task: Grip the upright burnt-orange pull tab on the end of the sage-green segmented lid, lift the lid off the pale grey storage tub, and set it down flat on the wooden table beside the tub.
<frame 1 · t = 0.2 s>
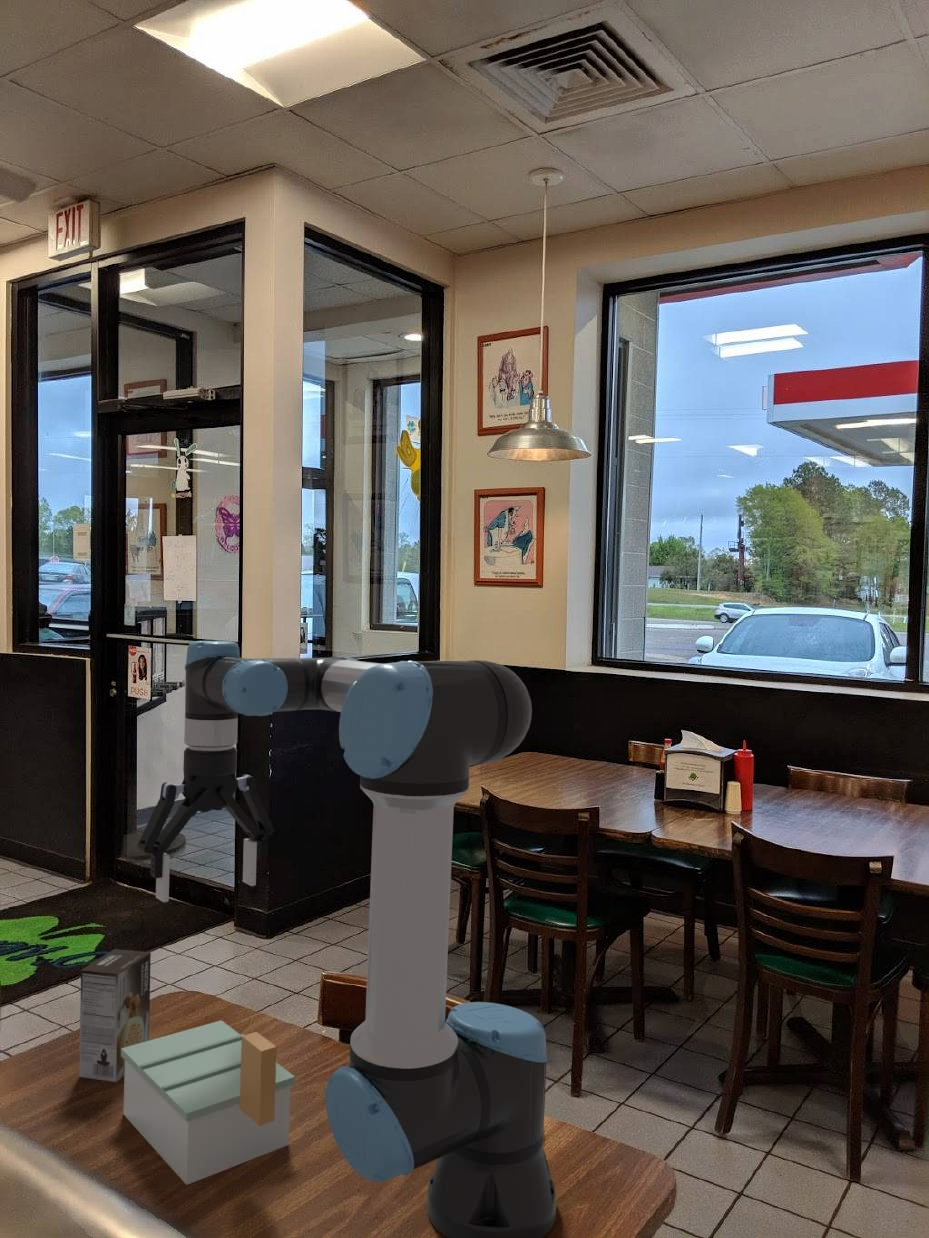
hand: (207, 891, 140), 28 cm above the table, fingers open, 13 cm apart
lid: (205, 1069, 127), point 8 cm above the table, touching tub
tub: (204, 1129, 127), on the table
coffee box: (114, 1067, 143), on the table
smartphone: (212, 1060, 147), on the table
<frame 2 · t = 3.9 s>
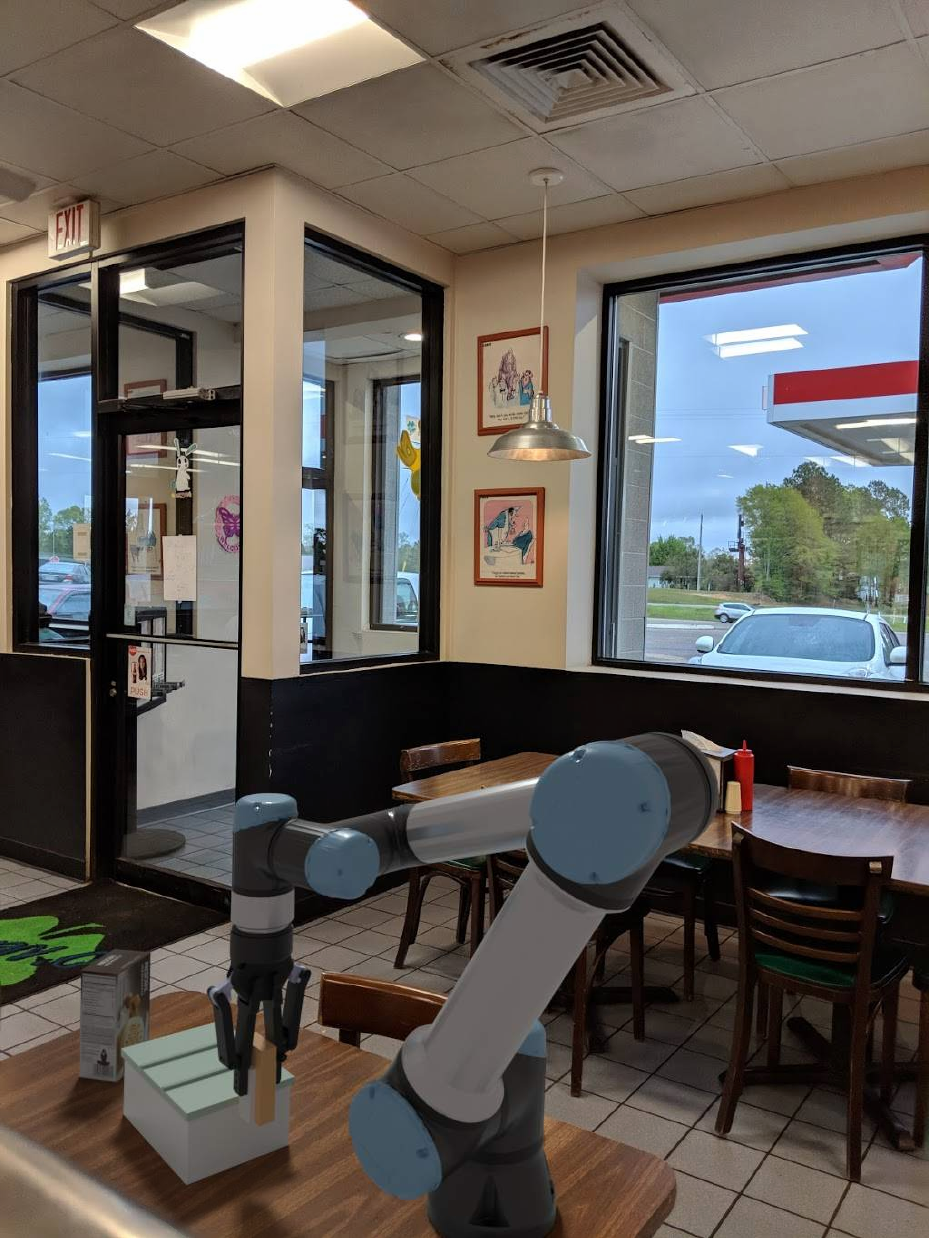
hand: (256, 1114, 116), 8 cm above the table, fingers closed on lid, 2 cm apart
lid: (205, 1069, 127), point 8 cm above the table, touching gripper, tub
everything else where it was.
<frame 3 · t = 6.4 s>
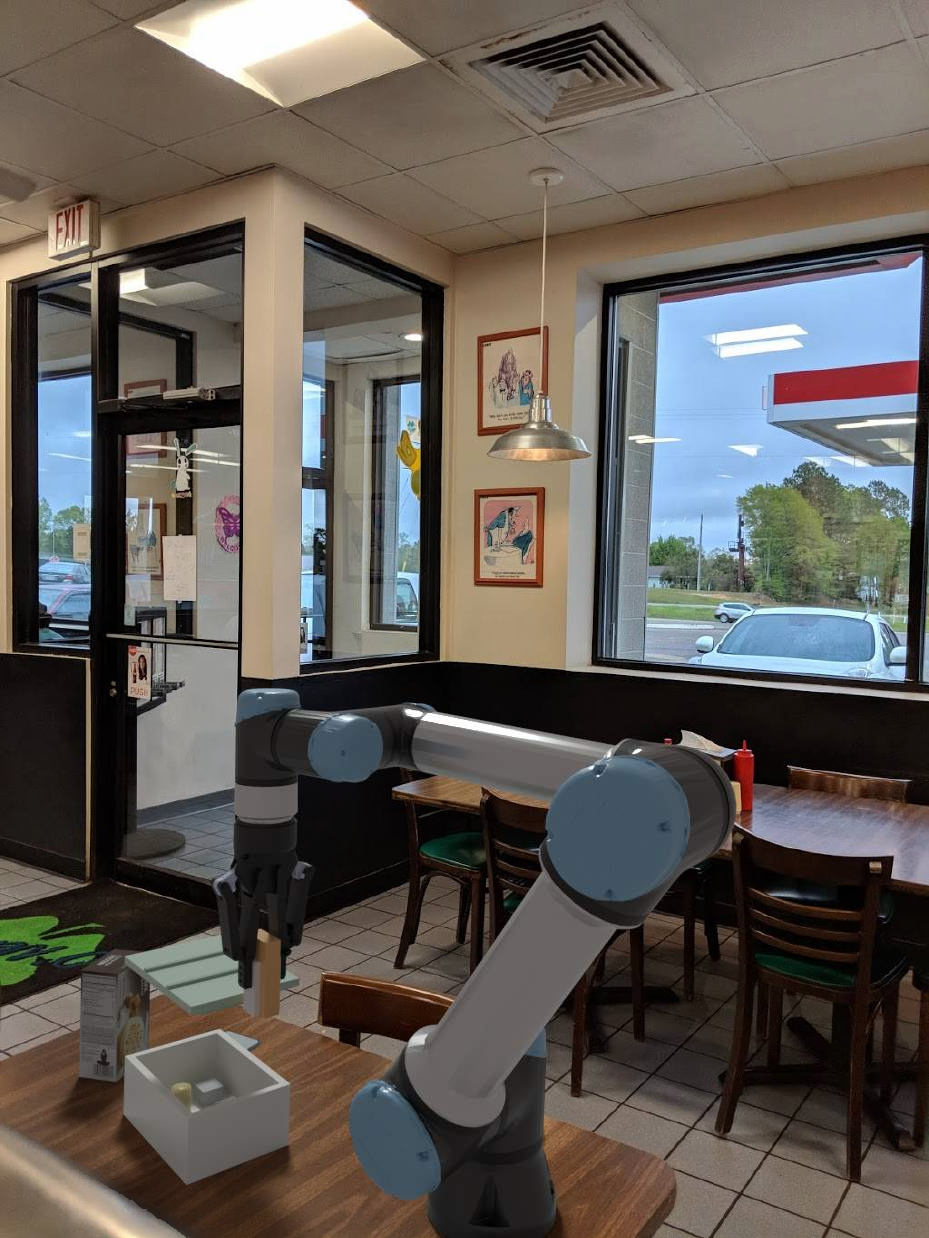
hand: (261, 1009, 116), 21 cm above the table, fingers closed on lid, 2 cm apart
lid: (209, 974, 127), point 21 cm above the table, touching gripper
everything else where it was.
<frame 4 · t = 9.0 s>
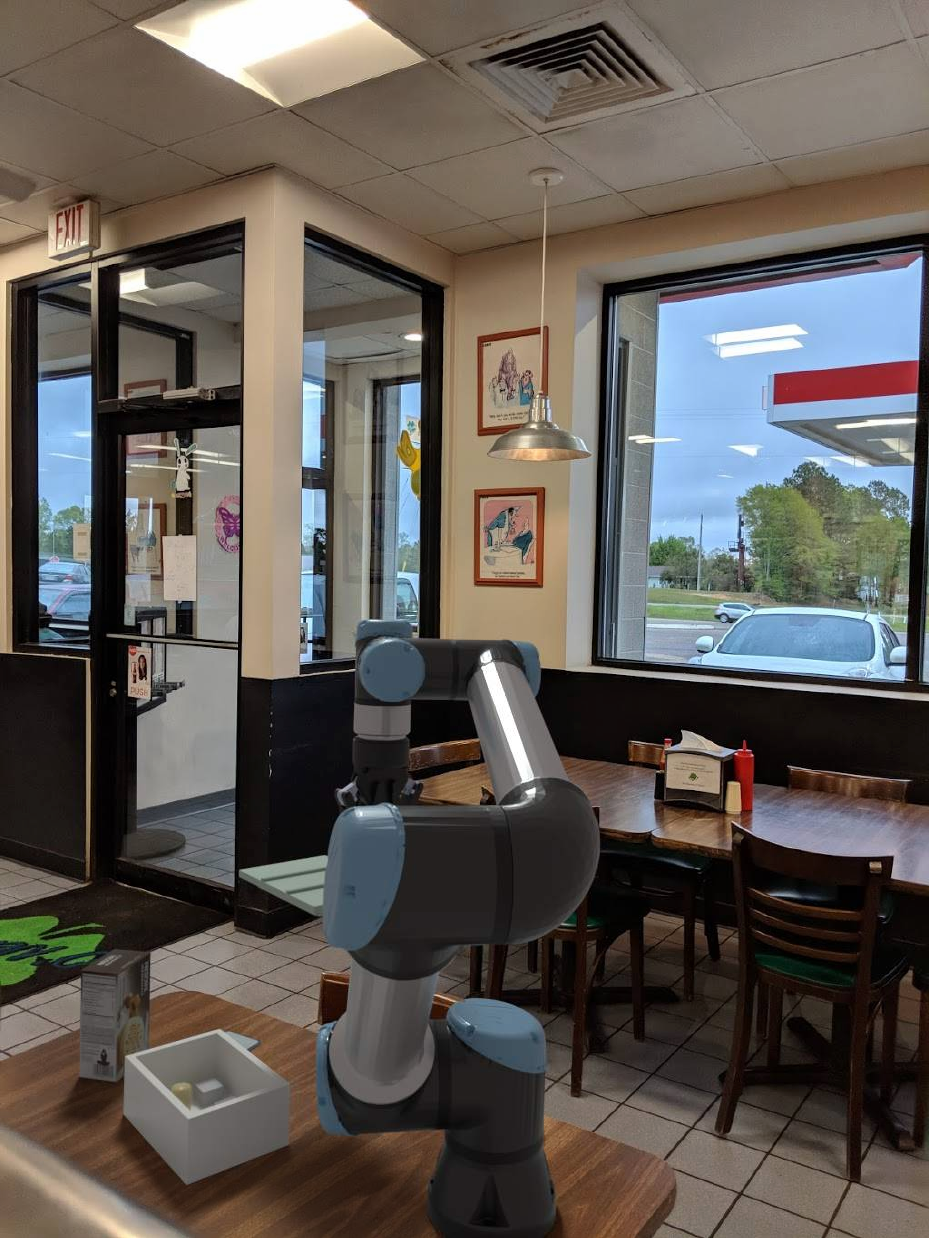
hand: (376, 911, 127), 30 cm above the table, fingers closed on lid, 2 cm apart
lid: (319, 885, 138), point 30 cm above the table, touching gripper
everything else where it was.
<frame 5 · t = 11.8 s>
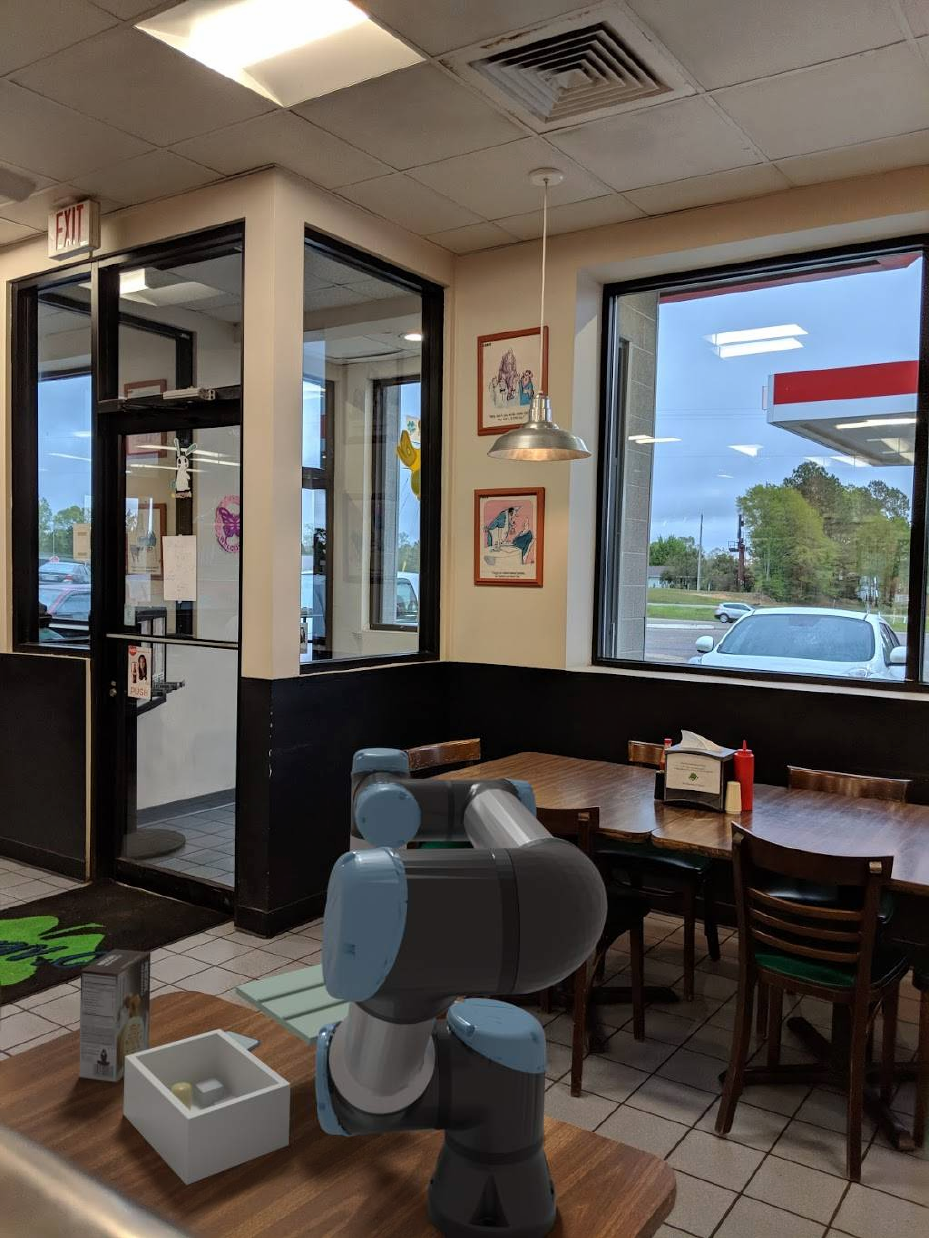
hand: (372, 1040, 127), 12 cm above the table, fingers closed on lid, 2 cm apart
lid: (316, 1004, 138), point 12 cm above the table, touching gripper
everything else where it was.
when the fingers open (3 cm above the table, at t = 14.3 s): lid drops 2 cm, point 1 cm above the table.
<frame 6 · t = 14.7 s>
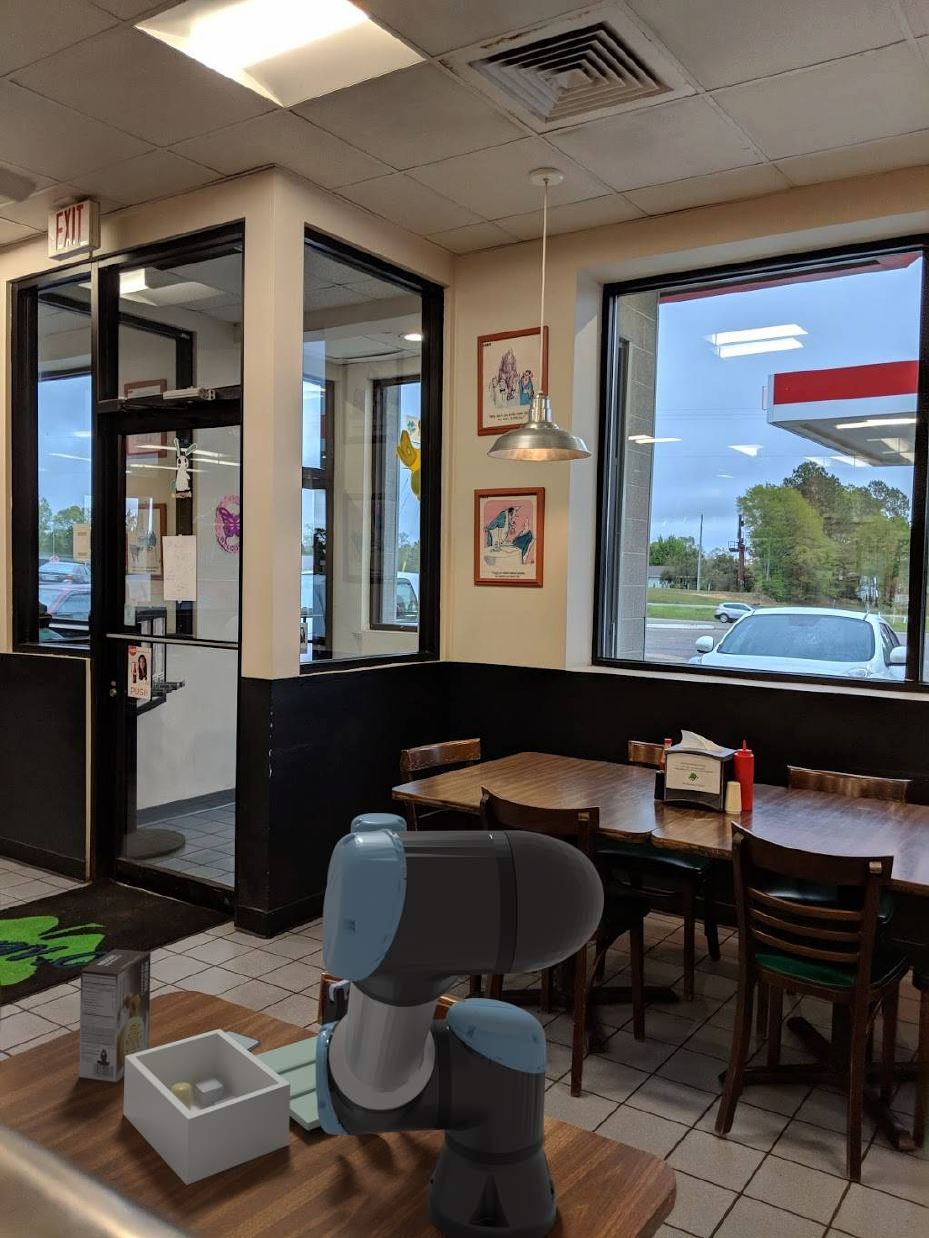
hand: (370, 1099, 128), 4 cm above the table, fingers open, 9 cm apart
lid: (314, 1081, 138), point 1 cm above the table
everything else where it was.
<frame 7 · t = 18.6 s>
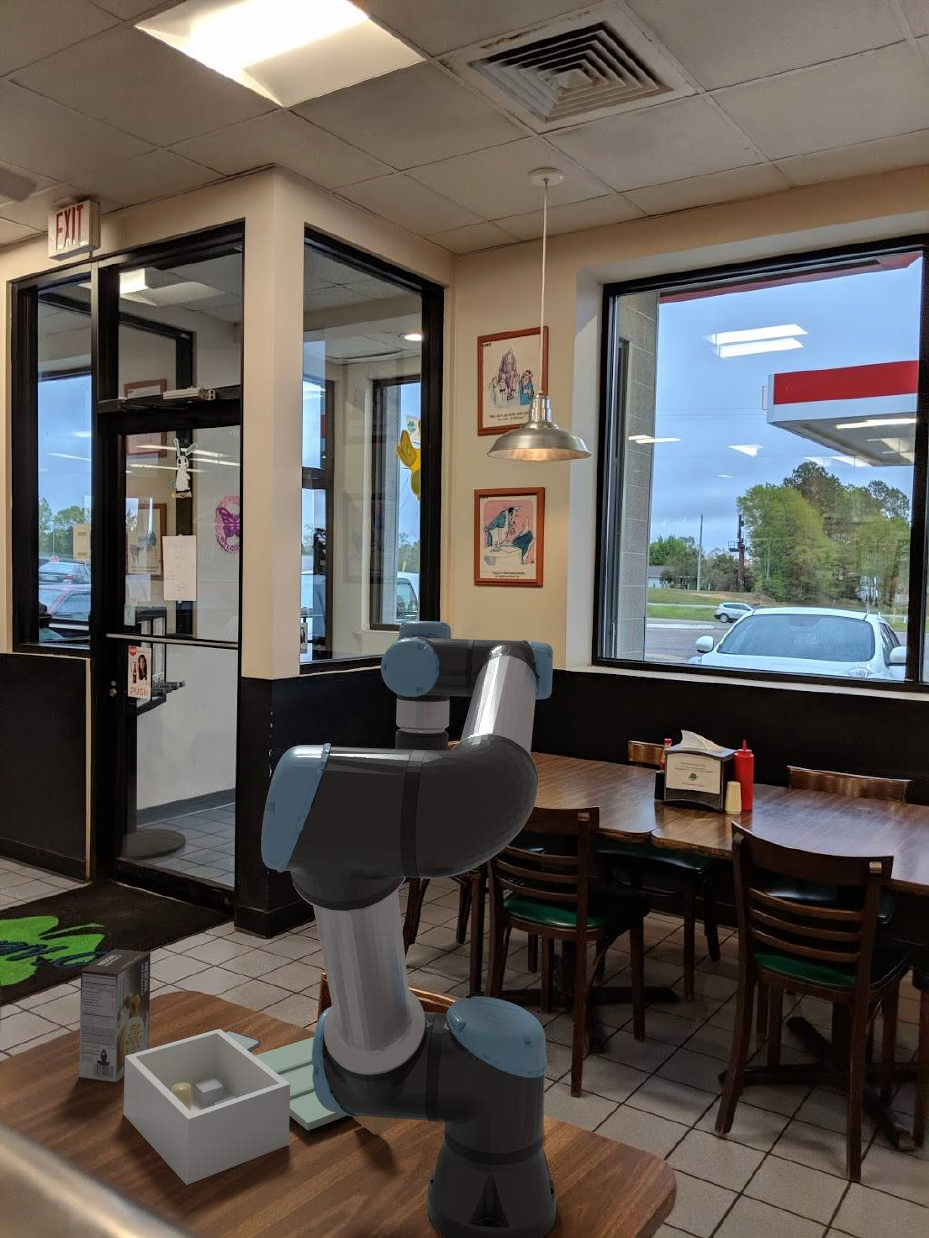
hand: (417, 877, 137), 32 cm above the table, fingers open, 13 cm apart
nothing on the table moved.
at the end: lid touching table; lid inside the target area (2.0 cm from its centre), point 1.2 cm above the table; the gripper is holding nothing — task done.
